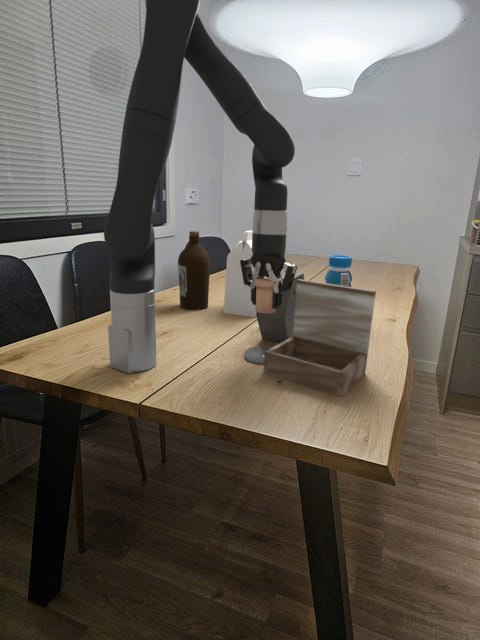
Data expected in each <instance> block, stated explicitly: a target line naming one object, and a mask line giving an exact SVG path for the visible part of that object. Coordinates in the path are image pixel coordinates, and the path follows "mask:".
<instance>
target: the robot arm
mask: <svg viewBox="0 0 480 640" xmlns="http://www.w3.org/2000/svg"><path fill="white" fill-rule="evenodd" d="M200 5H201V0H145V8H146V10H145V21H144V29H143V30H144V31H143V40H142V46H141V50H140V54H139V58H138V61H137V64H136V69H135V71H134V74H133V78H132V81H131V86H130V91H129V93H128V98H127V102H126V106H125V107H126V108H125V112H124V113H125V115H124V120H123V125H122V133H121V138H120V139H121V141H120V149H119V156H118V166H117V167H118V170H117V178H116V185H115V190H114V194H113V197H112V200H111V205H110V209H109V212H108V215H107V218H106V221H105V224H104V225H105V226H104V229H103V239H104V243H105V245H106V247H107V249H108V250H109V252H110V272H109V277H108V278H109V282H108V283H109V296H110V300H109V301H110V317H111V318H110V321H111V324H109V325H108V326H107V331H108V332H107V333H108V334H107V335H108V337H107V338H108V351H109V366H110V367H111V368H113V369H116V370H118V371H121V372H123V373H126V374H132V373H137V372H145V371H147V370H150V369H152V368H154V367H155V366H156V365H157V340H156V338H157V337H156V336H157V335H156V332H157V331H156V299H155V298H156V295H155V294H156V293H155V288H156V287H155V279H156V278H155V277H156V245H155V244H156V243H155V242H156V239H155V238H156V237H155V229H154V225H153V223H152V220H153V209H154V201H155V195H156V191H157V189H158V185H159V182H160V180H161V177H162V174H163V172H164V169H165V167H166V164H167V160H168V157H169V154H170V150H171V146H172V143H173V137H174V132H175V128H176V122H177V115H178V111H179V102H180V95H181V94H180V92H181V88H182V87H181V86H182V73H183V66H184V61H185V60H186V61H187V62H188V64H189V65H190V66H191V67H192V69H193V70H194V71H195V73H196V74H197V75H198V76H199V78H200V79H201V80H202V82H203V83H204V84H205V86H206V87H207V89H208V90H209V92H210V93H211V95H212V96H213V97H214V99H215V100H216V102H217V103H218V104H219V106H220V107H221V108H222V111H223V112H224V113H225V115H226V116H227V117H228V119H229V120H230V122H231V123H232V124H233V126H234V127H235V128H236V129H237V131H238V132H240V133H241V134H242V135H245V136H247V137H248V138H249V140H250V141H251V142H252V143H253V149H252V153H251V154H252V155H251V164H252V175H253V181H254V186H255V189H254V207H253V208H254V210H253V216H252V230H251V231H252V252H253V254H252V257H251V259H243V260H241V261H240V264H241V270H242V276H243V281H244V284H245V285H248V286H250V288H251V302H252V304H253V305H256V286H255V285H254V280H255V279H258V278H261V277H264V276H265V277H267V278H270V281H272V282H273V283H274V288H273V289H274V292H275V293H273V305H272V308H273V309H277V308H279V307H280V306H281V304H282V293H283V292H285V291H287V290H290V289H291V286H292V283H293V280H294V277H295V273H296V272H297V270H298V266H297V265H296V264H290V263H288V262H287V261H286V258H285V254H286V247H287V233H288V232H287V231H288V212H287V211H288V209H287V208H288V194H289V193H288V186H287V184H286V183H285V182H284V180H283V168H286V166H287V167H288V165H290V163H292V161H293V159H294V157H295V152H296V151H295V148H296V147H295V144H294V141H293V138H292V136H291V134H290V132H288V130H287V129H286V128H285V126H284V125H283V124H282V123H281V122H280V121H279V120H278V119H277V118H276V116H275V115H274V114H273V113H272V112H270V111H269V110H268V109H267V108H266V106H265V104H264V102H263V101H262V100H261V98H260V96H259V95H258V93H257V92H256V90H255V89H254V87H253V85H252V84H251V82H250V80H248V79H247V77H246V76H245V74H243V72H242V71H241V70H240V69H239V68H238V66H237V65H236V64H235V63H233V61H232V60H231V59H230V58H228V56H227V55H225V53H224V52H223V51H222V50H221V49H220V47H218V45H217V44H216V43H215V41H214V39H212V37H211V35H210V34H209V32H208V31H207V29H206V27H205V25H204V23H203V21H202V20H201V17H200V15H199V13H198V12H199V9H200ZM184 59H185V60H184ZM252 265H253V267H254V269H255V270H254V273H253V274H252V269H251V267H252ZM283 269H284V270H283ZM281 271H284V272H285V273H286V274H285V277H284V280H283V278H282V274H281ZM282 280H283V283H282ZM278 282H279V285H278Z"/></svg>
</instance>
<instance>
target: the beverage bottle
mask: <svg viewBox="0 0 480 640" xmlns="http://www.w3.org/2000/svg"><path fill="white" fill-rule="evenodd" d="M328 259H329V260H328V267H329V269H328V271H327V272H326V273H325V276H324V279H325V280H324V281H325V282H324V283H327V284H334V285H340V286H347V287H353V286H352V284H351V283H352V282H353V276H352V273H351V271H350V269H351V267H352V261H353V258H352V257H351V256H349V255H345V254H344V255H343V254H339V255H338V254H332V255H330V256H329V258H328Z"/></svg>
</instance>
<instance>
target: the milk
mask: <svg viewBox="0 0 480 640" xmlns="http://www.w3.org/2000/svg"><path fill="white" fill-rule="evenodd" d="M242 236H243V237H242V240H240V241H238V242H237V243H236V245H235V246H234V248H233V249H232V250H231V251H230V252H229V253H228V254H227V257H226V265H225V266H226V269H225V283H224V285H225V286H224V296H223V297H224V299H223V300H224V301H223V314H228V315H229V314H230V315H237V316H238V315H239V316H245V317H252V318H257V317H256V312H257V311H256V310H255V309H256V305H253V304H252V302H251V288H250V286H248V285H245V284H244V281H243V276H242V270H241V264H240V261H241V260H243V259H251V257H252V254H253V252H252V230H246V231H244V232H243V235H242ZM251 269H252V274H253V273H254V270H255V269H254V267H253V265H252V267H251Z"/></svg>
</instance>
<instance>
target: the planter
mask: <svg viewBox="0 0 480 640" xmlns="http://www.w3.org/2000/svg"><path fill="white" fill-rule="evenodd" d="M281 274H282V278H283V280H284V277H285V274H286V273H285V272H284V270H282V271H281ZM298 279H302V280H305V275H304V272H297V271H296V273H295V277H294V280H293V283H292V286H291V289H290V290H287V291H285V292H283V293H282V304H281V306H280V307H279V308H277V309H276V312H274V313H259V312H256V317H255V318H256V320H257V324H258V329H259V331H260V336H261V339H262V340H266V341H267V340H268V341H272V342H273V341H274V342H278V343H281V342H283V341H285V340H287V339H289V338H291V337H292V336H293V329H294V315H295V302H296V289H297V280H298ZM283 280H282V283H283Z"/></svg>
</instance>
